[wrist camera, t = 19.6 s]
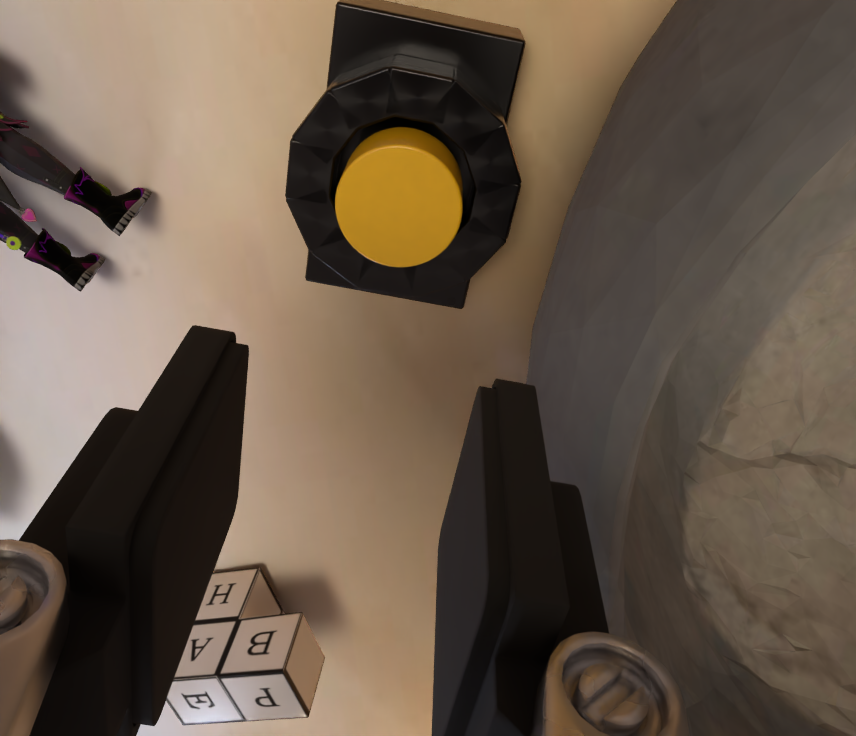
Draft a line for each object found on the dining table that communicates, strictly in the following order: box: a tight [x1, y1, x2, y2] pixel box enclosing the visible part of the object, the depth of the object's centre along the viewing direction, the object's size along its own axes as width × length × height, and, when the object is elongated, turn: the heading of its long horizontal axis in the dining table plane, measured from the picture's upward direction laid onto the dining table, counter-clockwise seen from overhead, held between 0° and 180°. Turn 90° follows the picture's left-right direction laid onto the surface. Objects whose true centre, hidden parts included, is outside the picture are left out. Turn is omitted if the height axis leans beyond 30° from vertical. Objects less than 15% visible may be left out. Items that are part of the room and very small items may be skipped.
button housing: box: [285, 0, 525, 309], centre depth 22 cm, size 6×8×4 cm
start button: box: [335, 127, 463, 267], centre depth 20 cm, size 3×3×2 cm
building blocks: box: [166, 568, 325, 725], centre depth 32 cm, size 5×5×8 cm
